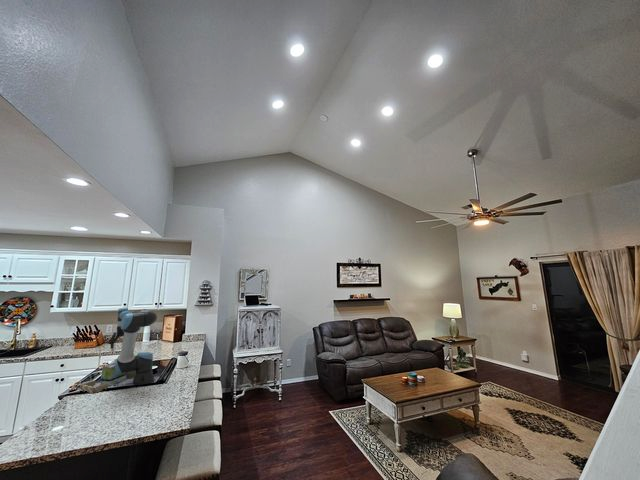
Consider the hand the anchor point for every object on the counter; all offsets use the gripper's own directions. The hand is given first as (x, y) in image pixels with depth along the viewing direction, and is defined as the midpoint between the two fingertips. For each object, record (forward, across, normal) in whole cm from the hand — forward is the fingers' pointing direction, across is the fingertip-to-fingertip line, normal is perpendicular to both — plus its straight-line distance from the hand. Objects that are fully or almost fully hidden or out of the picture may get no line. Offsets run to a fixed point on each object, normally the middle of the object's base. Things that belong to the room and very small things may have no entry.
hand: (120, 350), depth 246 cm
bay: (+24, +24, +7) cm, 34 cm away
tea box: (+24, +9, +7) cm, 26 cm away
